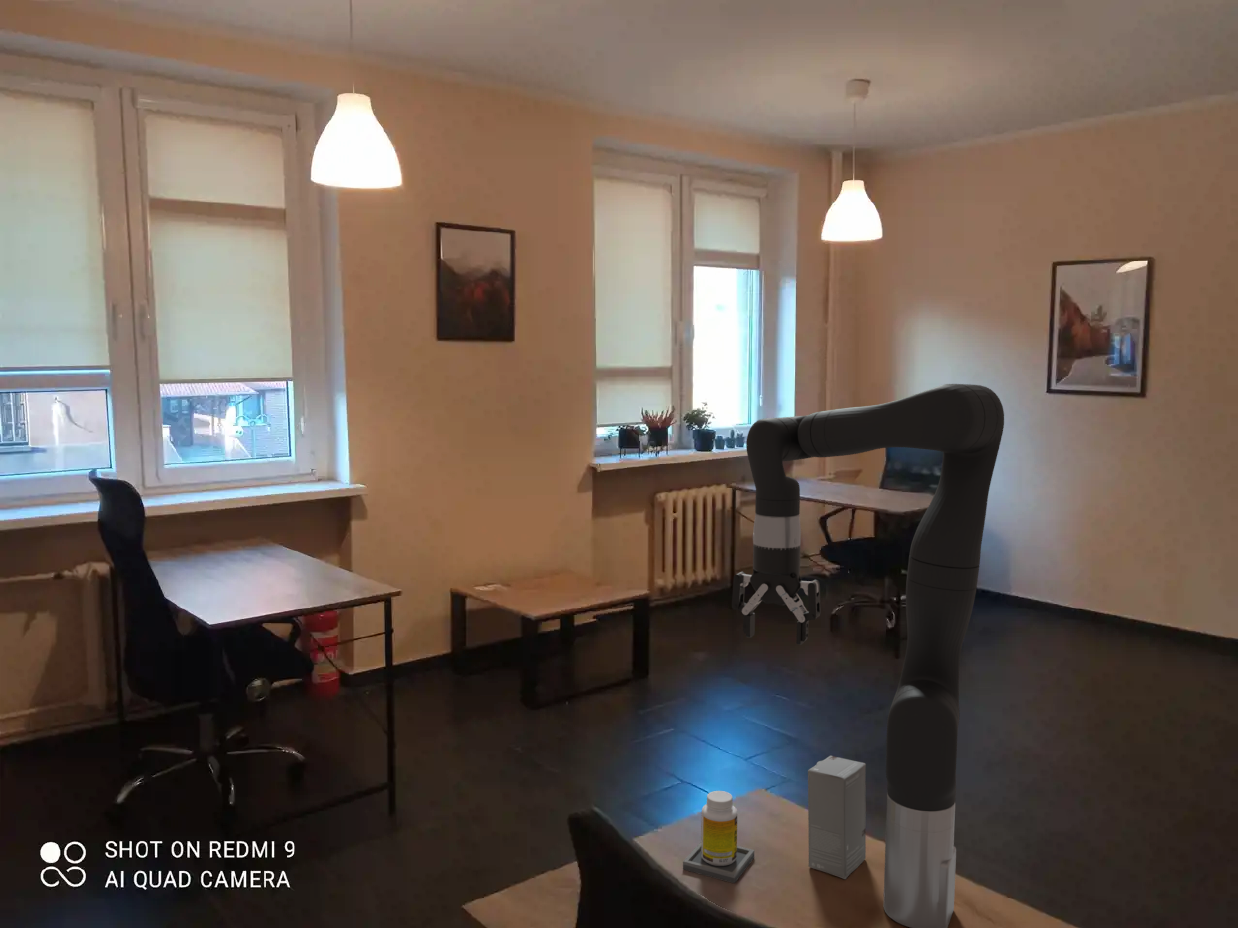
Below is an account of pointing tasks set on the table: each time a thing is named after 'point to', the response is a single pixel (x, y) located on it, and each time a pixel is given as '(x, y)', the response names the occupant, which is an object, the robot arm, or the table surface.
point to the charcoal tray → (725, 873)
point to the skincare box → (837, 816)
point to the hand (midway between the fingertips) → (774, 639)
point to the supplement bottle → (719, 829)
